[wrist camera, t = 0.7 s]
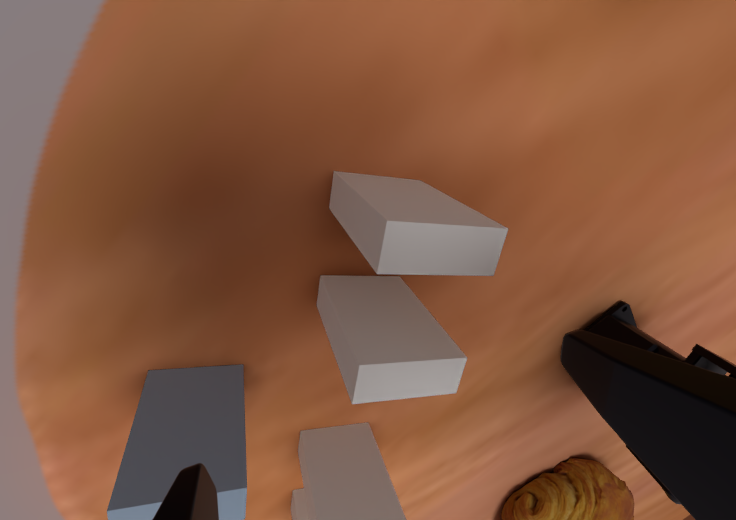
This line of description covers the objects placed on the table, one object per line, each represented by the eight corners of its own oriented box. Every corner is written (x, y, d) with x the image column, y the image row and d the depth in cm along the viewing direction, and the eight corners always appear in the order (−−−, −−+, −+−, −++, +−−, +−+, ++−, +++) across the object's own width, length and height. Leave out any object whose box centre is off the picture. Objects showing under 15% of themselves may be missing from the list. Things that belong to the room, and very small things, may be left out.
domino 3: (393, 304, 24) (456, 393, 18) (316, 305, 23) (352, 404, 16) (399, 276, 24) (467, 357, 17) (320, 275, 22) (359, 365, 15)
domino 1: (241, 390, 24) (244, 519, 17) (150, 398, 22) (111, 544, 15) (243, 364, 23) (246, 487, 16) (148, 370, 21) (106, 510, 14)
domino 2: (413, 214, 22) (493, 275, 15) (328, 208, 21) (376, 274, 14) (420, 180, 21) (508, 228, 15) (333, 171, 20) (387, 220, 13)
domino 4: (364, 442, 29) (404, 555, 22) (297, 451, 27) (319, 577, 20) (368, 422, 28) (411, 533, 21) (300, 430, 27) (323, 554, 20)
